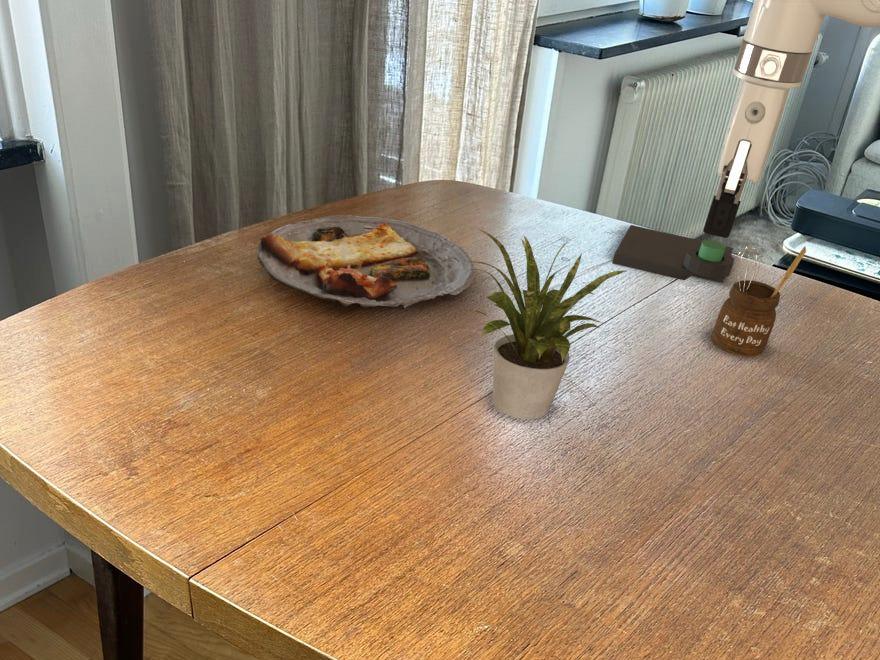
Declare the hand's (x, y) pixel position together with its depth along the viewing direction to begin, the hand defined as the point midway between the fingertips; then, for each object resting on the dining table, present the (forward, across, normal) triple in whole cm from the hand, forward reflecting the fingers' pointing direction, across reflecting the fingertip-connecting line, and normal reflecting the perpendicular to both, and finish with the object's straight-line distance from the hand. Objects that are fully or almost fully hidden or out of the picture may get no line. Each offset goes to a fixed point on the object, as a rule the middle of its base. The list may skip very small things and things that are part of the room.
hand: (716, 233), depth 117 cm
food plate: (+6, -24, +37) cm, 44 cm away
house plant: (+6, -46, +14) cm, 48 cm away
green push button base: (+6, +4, +4) cm, 8 cm away
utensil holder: (+6, -19, -6) cm, 21 cm away
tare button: (+3, 0, 0) cm, 3 cm away
